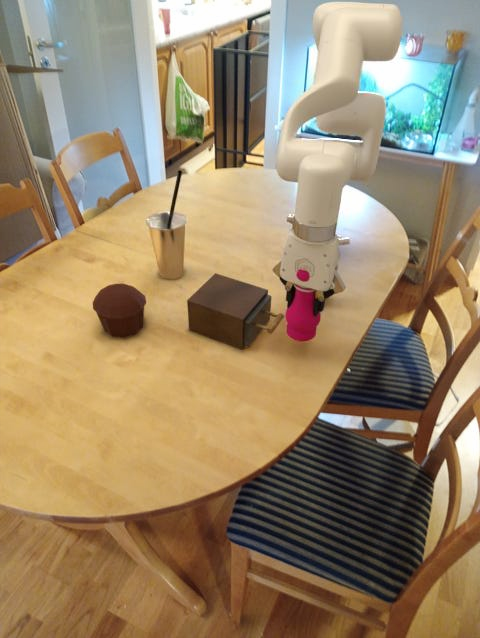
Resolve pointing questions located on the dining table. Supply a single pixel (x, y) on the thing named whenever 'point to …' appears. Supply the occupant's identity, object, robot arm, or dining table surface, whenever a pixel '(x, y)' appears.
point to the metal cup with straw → (169, 238)
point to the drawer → (260, 321)
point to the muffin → (120, 309)
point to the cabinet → (223, 309)
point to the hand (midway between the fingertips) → (304, 307)
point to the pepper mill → (302, 312)
